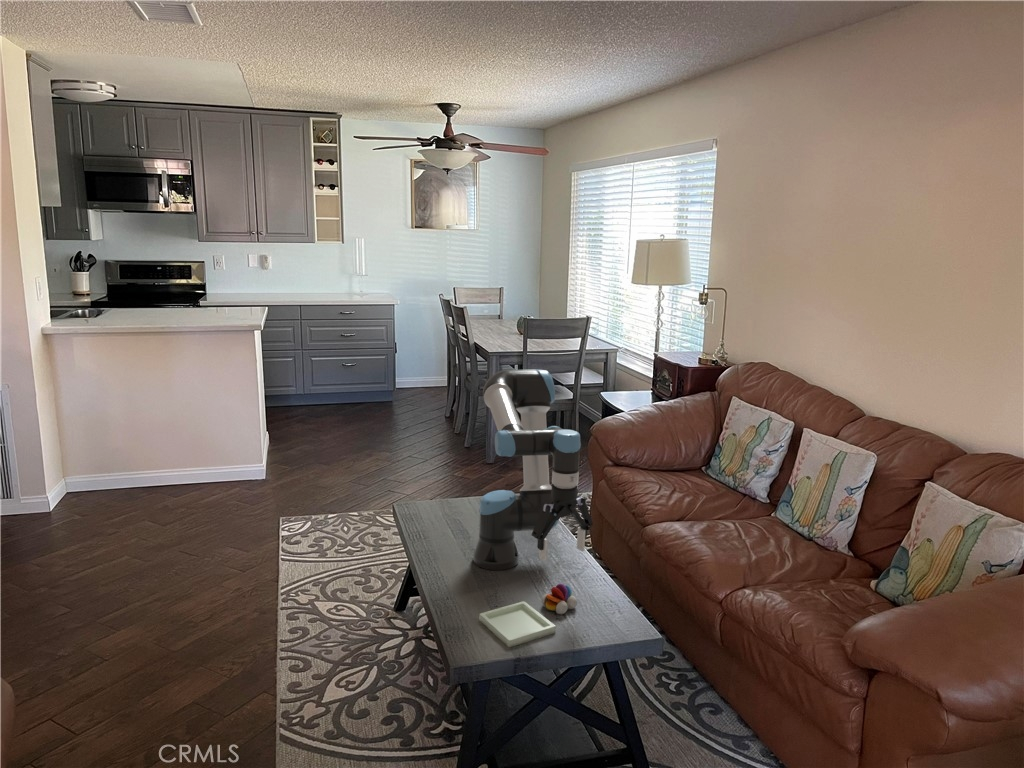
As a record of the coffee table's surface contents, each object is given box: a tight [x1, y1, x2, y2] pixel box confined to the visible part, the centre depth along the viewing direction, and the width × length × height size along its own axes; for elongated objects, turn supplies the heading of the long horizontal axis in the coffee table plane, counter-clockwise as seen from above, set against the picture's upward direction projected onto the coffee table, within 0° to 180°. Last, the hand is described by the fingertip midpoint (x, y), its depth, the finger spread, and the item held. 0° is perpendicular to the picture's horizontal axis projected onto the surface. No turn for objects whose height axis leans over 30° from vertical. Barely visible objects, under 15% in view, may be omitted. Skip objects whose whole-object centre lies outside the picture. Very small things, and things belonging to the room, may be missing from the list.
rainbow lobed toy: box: [541, 583, 578, 615], centre depth 212 cm, size 8×10×7 cm
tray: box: [478, 600, 557, 648], centre depth 202 cm, size 16×15×2 cm
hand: (561, 554), depth 210 cm, fingers open, 13 cm apart
